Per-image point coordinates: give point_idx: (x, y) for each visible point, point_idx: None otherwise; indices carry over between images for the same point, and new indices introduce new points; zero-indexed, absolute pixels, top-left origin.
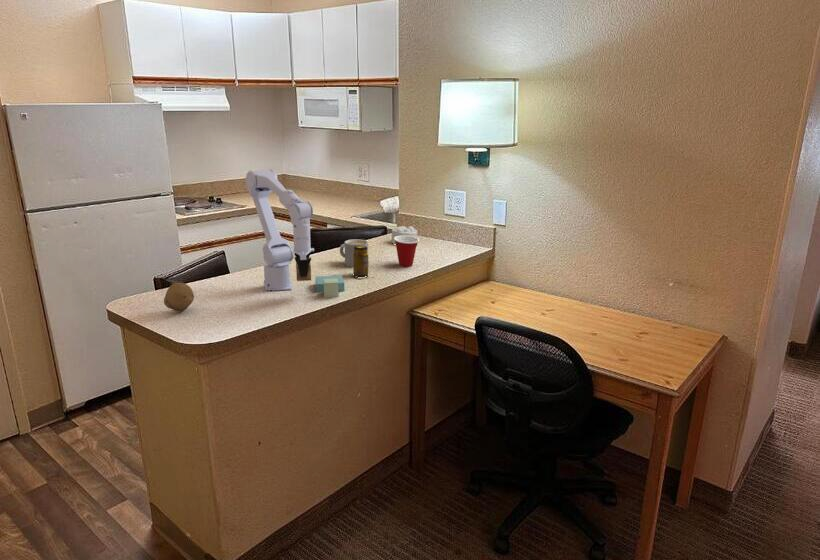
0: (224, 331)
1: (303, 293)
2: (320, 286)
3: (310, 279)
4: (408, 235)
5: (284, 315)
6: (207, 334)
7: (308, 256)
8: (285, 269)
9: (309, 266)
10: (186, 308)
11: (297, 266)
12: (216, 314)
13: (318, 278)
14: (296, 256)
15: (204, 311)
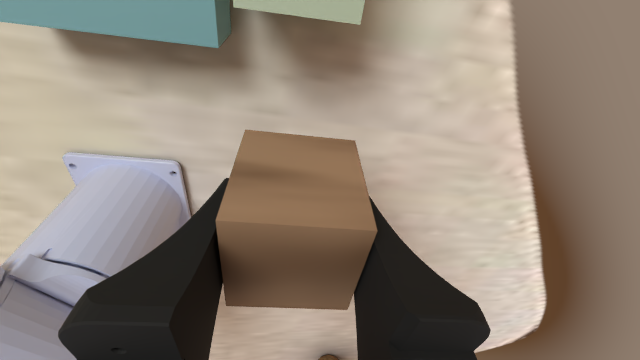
0: (497, 309)
1: (241, 113)
2: (220, 16)
3: (354, 149)
4: None
5: (488, 207)
6: (490, 326)
7: (192, 286)
8: (120, 258)
9: (373, 231)
10: (333, 358)
11: (348, 299)
12: None
13: (48, 4)
14: (207, 358)
15: (345, 334)
